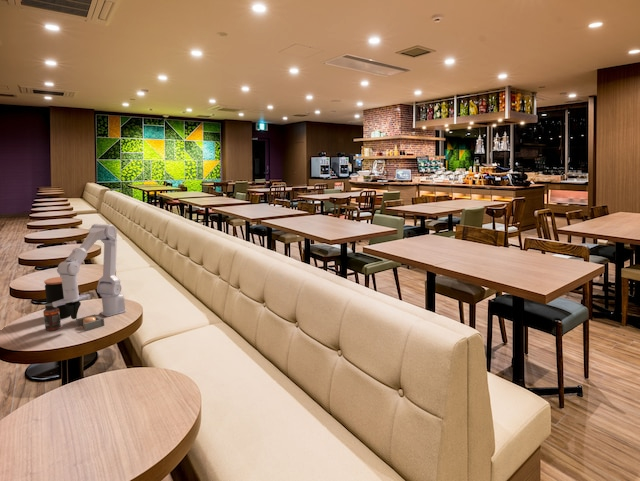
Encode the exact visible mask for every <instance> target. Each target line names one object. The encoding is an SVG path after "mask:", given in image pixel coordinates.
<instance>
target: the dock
mask: <svg viewBox="0 0 640 481" xmlns="http://www.w3.org/2000/svg"><path fill="white" fill-rule="evenodd" d="M87 317H95V318H96V320H95V321H92V322H88V323H84V325H83V319H84V318H87ZM76 326H77V327H79V326H83V328H84V331H89V330H94V329H98V328H100V327H103V326H105V319H104V318H103V317H101V316H98V315H97V314H91V315H87V316H84V317H83V316H82V317H80V318H76Z"/></svg>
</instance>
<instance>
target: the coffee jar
mask: <svg viewBox="0 0 640 481" xmlns="http://www.w3.org/2000/svg"><path fill="white" fill-rule="evenodd" d="M43 283H44V290H45V300H46V304H49V303H52V302H55V301H58V300H61V299H64V295H63V287H62V279H61V278H60V276H56V277H51V278H47V279H45V280H44V281H43ZM57 308H59V313H60V320H61V319H66V318H69V317H71V315H70V313H69V311H68V310H67V308H66V307H65V305H61V306H57Z"/></svg>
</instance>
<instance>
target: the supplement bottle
mask: <svg viewBox="0 0 640 481" xmlns="http://www.w3.org/2000/svg"><path fill="white" fill-rule="evenodd" d="M42 313H43V319H44V321H43V322H44V328H45V330H46V331H47V332H48V331H49V332H50V331H56V330H59V329H60V328H62V322H61V319H60V313H59V308H57V307H53V304H52V303H49V304H47V303H46V304H45V305H44V310H43V311H42Z"/></svg>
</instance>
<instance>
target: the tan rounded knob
mask: <svg viewBox="0 0 640 481" xmlns="http://www.w3.org/2000/svg"><path fill="white" fill-rule="evenodd" d="M86 317H87V316H86ZM95 320H96V318H95V317H87V318H84V319H83V325H82V326H84V323H88V322H92V321H95Z"/></svg>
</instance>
